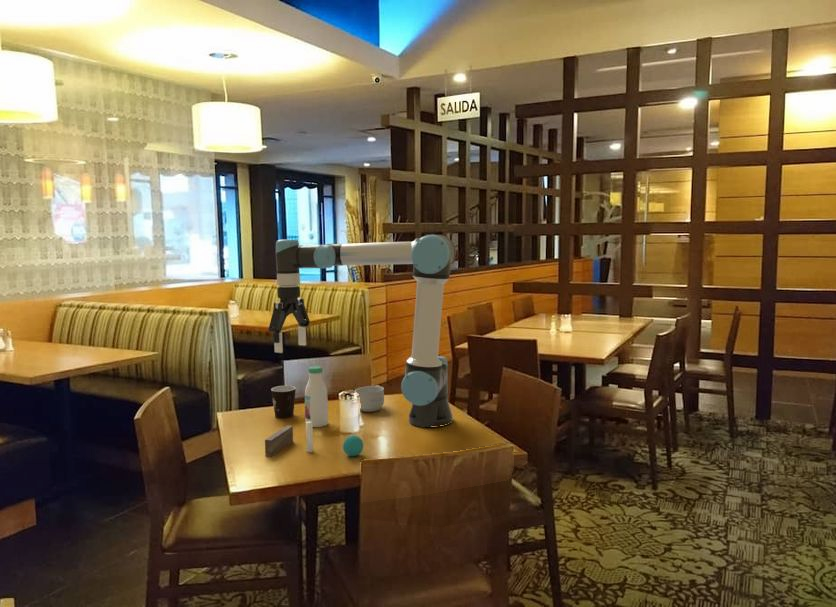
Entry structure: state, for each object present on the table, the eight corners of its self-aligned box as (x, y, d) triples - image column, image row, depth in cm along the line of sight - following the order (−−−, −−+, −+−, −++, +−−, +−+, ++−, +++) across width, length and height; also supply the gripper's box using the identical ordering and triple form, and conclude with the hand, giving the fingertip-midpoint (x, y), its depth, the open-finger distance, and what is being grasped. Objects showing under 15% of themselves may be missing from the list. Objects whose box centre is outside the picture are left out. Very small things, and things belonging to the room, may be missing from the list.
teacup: (372, 415, 228) (372, 393, 227) (349, 411, 234) (348, 389, 233) (394, 406, 240) (394, 385, 239) (371, 402, 245) (371, 382, 244)
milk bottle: (330, 421, 221) (329, 365, 219) (325, 428, 214) (323, 370, 211) (308, 420, 222) (307, 364, 220) (302, 427, 214) (301, 369, 212)
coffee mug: (273, 412, 232) (272, 386, 231) (297, 412, 233) (296, 385, 231) (269, 422, 220) (268, 394, 219) (294, 421, 221) (293, 393, 220)
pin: (314, 450, 192) (313, 421, 191) (311, 452, 190) (310, 423, 189) (308, 450, 193) (307, 421, 192) (305, 452, 191) (304, 423, 190)
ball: (366, 453, 190) (366, 433, 189) (359, 460, 184) (358, 440, 183) (347, 451, 192) (347, 431, 191) (340, 458, 186) (339, 438, 185)
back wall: (293, 441, 201) (292, 426, 200) (271, 456, 187) (271, 440, 187) (287, 440, 201) (286, 425, 201) (265, 456, 188) (264, 439, 187)
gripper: (300, 282, 224) (302, 341, 227) (255, 289, 202) (258, 354, 204) (318, 283, 221) (320, 343, 224) (275, 289, 199) (277, 356, 201)
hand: (290, 348), depth 214 cm, fingers open, 13 cm apart
